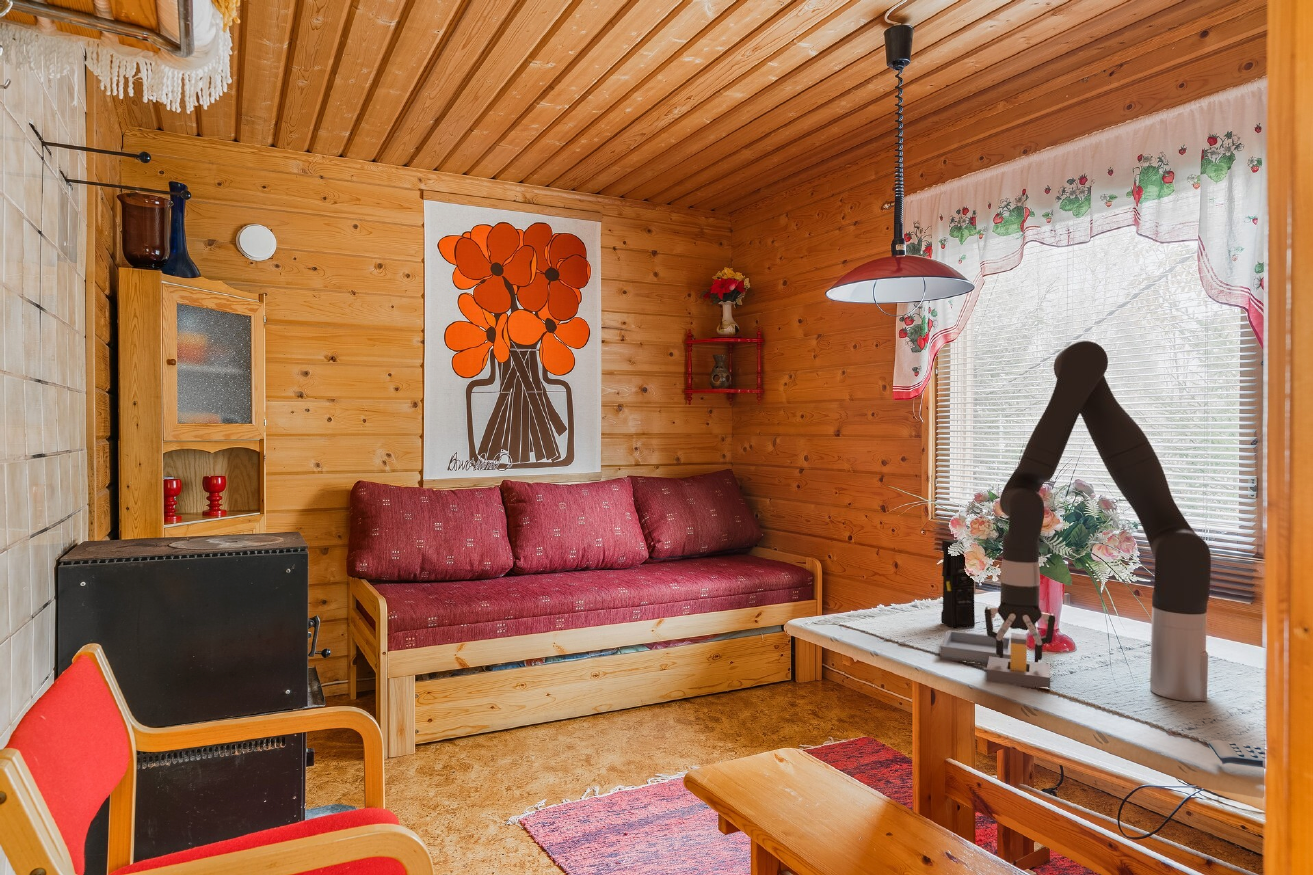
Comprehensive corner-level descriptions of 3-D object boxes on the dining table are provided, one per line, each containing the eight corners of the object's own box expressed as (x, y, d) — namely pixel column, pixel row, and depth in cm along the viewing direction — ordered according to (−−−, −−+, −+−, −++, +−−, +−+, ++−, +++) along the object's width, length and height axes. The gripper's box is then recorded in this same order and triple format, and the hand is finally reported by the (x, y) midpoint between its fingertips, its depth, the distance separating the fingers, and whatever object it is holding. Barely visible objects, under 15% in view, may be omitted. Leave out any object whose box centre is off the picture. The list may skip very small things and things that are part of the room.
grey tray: (1014, 650, 189) (1014, 637, 189) (1011, 668, 176) (1011, 654, 176) (947, 642, 196) (947, 630, 196) (940, 658, 182) (940, 646, 182)
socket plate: (1049, 675, 171) (1049, 663, 171) (1049, 689, 162) (1050, 677, 162) (989, 667, 176) (989, 656, 176) (986, 680, 167) (986, 669, 167)
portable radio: (950, 629, 207) (952, 534, 207) (936, 623, 213) (938, 530, 212) (976, 627, 209) (978, 533, 209) (962, 621, 215) (963, 529, 215)
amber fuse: (1026, 676, 171) (1027, 634, 170) (1025, 682, 167) (1026, 640, 166) (1011, 674, 172) (1011, 632, 172) (1010, 680, 168) (1010, 638, 168)
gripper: (1057, 580, 169) (1056, 659, 169) (984, 574, 175) (983, 650, 176) (1058, 587, 162) (1056, 669, 163) (982, 581, 168) (980, 659, 169)
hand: (1018, 658), depth 169 cm, fingers open, 6 cm apart
